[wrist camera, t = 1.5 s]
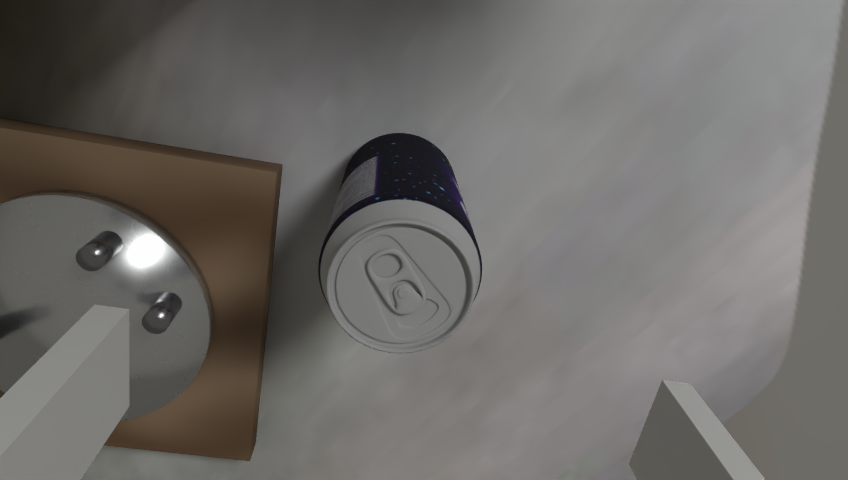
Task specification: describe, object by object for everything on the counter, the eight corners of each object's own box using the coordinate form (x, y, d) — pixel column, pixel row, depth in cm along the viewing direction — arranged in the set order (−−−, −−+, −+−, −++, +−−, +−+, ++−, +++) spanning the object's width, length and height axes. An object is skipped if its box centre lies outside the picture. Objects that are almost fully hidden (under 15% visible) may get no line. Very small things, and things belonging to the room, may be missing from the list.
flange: (-62, 169, 27) (-114, 188, 24) (221, 212, 29) (202, 235, 26) (-33, 394, 32) (-73, 432, 29) (208, 422, 33) (191, 460, 31)
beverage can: (378, 251, 31) (368, 388, 20) (323, 161, 29) (279, 258, 18) (472, 204, 31) (515, 320, 20) (422, 108, 29) (439, 176, 18)
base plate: (-102, 101, 27) (-129, 106, 26) (282, 164, 29) (276, 172, 28) (-56, 408, 34) (-76, 425, 33) (255, 443, 36) (249, 461, 35)
